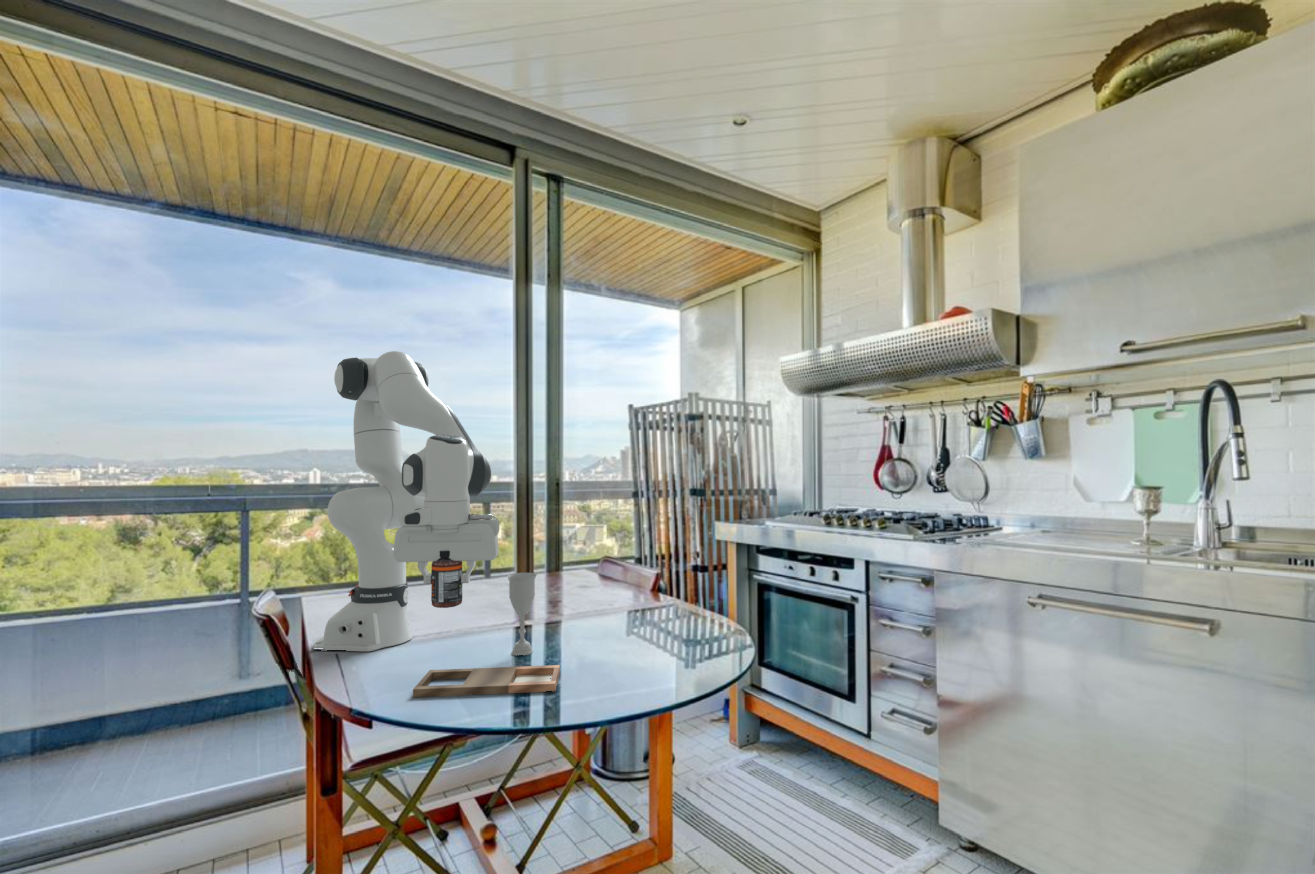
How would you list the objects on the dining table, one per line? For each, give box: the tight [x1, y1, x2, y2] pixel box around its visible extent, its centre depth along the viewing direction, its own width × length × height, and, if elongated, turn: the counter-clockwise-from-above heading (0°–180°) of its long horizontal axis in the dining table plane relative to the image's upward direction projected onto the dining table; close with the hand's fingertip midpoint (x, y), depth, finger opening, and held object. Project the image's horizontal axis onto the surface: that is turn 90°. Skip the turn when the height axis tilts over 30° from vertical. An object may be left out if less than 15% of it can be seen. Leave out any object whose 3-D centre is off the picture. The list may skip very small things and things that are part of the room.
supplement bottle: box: [430, 550, 463, 609], centre depth 124 cm, size 6×6×11 cm
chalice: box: [506, 572, 538, 657], centre depth 145 cm, size 7×7×18 cm
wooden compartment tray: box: [412, 664, 561, 698], centre depth 124 cm, size 27×11×2 cm, turn 94°
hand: (447, 583), depth 124 cm, fingers closed on supplement bottle, 6 cm apart
